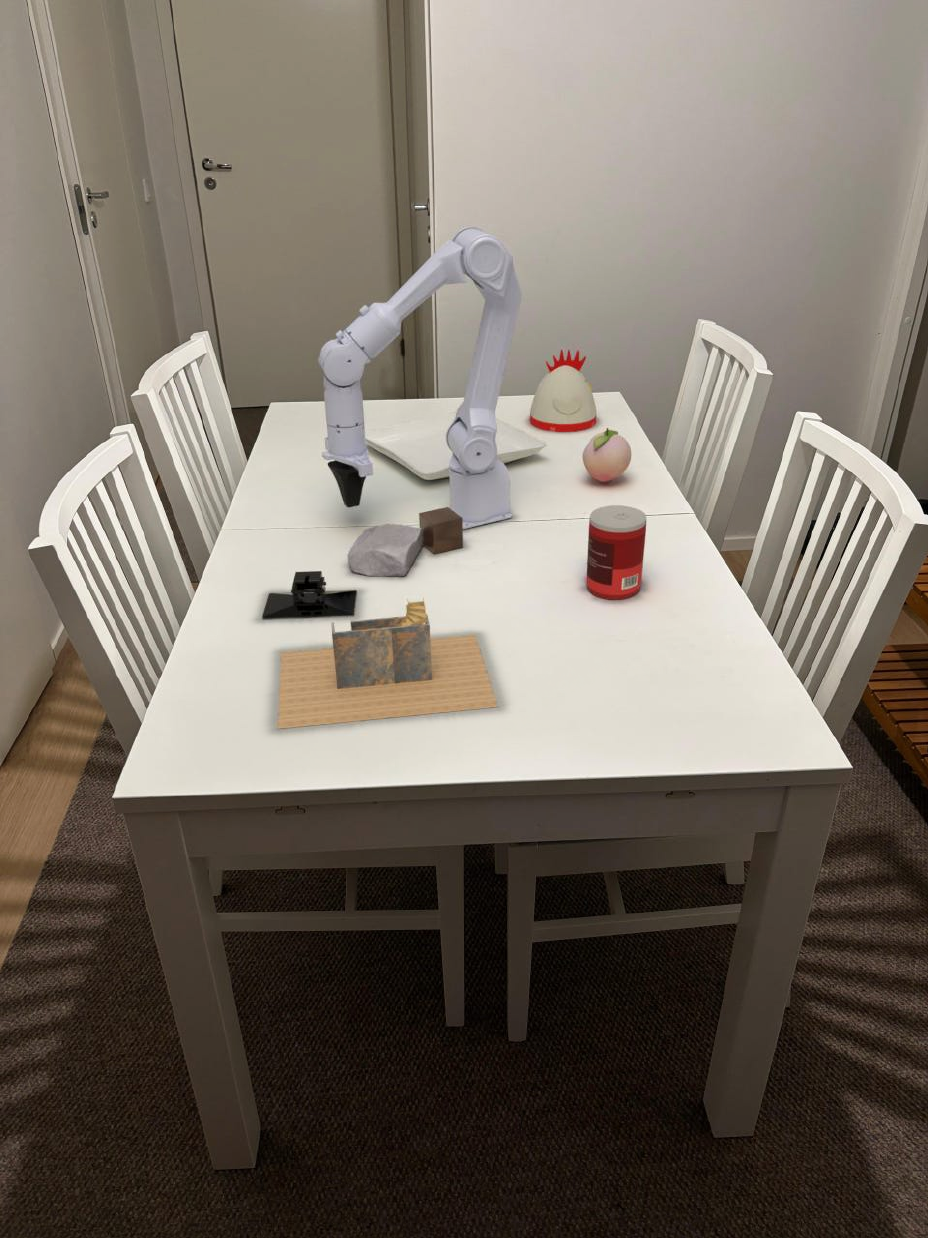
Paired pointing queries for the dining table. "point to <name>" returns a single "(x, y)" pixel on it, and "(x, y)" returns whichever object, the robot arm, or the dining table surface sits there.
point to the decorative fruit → (607, 456)
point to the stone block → (385, 550)
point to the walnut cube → (441, 530)
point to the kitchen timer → (564, 398)
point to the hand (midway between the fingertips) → (352, 505)
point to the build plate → (310, 599)
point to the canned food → (615, 551)
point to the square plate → (442, 444)
